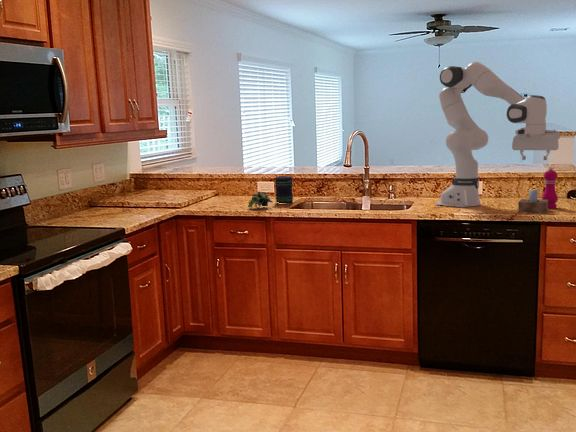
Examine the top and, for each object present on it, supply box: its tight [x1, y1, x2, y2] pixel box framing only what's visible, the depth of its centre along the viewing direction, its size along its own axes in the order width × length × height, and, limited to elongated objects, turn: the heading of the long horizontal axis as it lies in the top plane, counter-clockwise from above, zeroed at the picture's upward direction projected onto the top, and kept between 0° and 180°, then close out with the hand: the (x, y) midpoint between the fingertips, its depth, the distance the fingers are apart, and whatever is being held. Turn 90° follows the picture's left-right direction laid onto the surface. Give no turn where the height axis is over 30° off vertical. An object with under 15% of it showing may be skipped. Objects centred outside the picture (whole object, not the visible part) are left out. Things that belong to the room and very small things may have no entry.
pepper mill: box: [541, 166, 559, 210], centre depth 293 cm, size 7×7×20 cm
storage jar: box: [274, 175, 294, 204], centre depth 343 cm, size 10×10×15 cm
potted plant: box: [247, 191, 273, 209], centre depth 328 cm, size 11×11×12 cm
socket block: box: [517, 198, 549, 214], centre depth 287 cm, size 12×10×5 cm
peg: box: [528, 189, 539, 202], centre depth 286 cm, size 4×4×10 cm
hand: (534, 159), depth 284 cm, fingers open, 8 cm apart
